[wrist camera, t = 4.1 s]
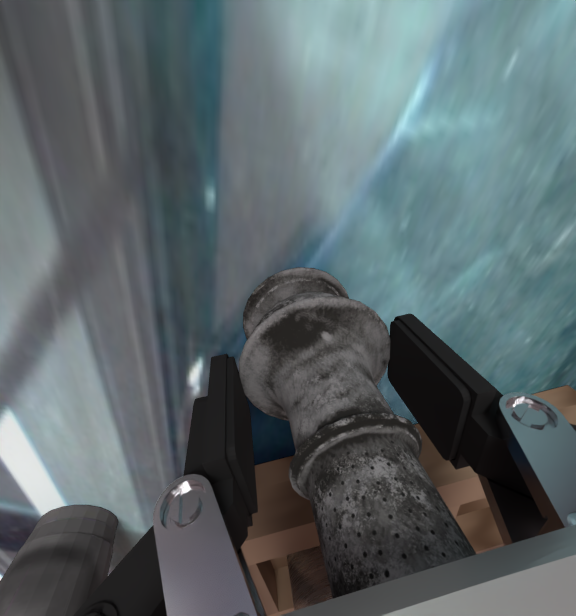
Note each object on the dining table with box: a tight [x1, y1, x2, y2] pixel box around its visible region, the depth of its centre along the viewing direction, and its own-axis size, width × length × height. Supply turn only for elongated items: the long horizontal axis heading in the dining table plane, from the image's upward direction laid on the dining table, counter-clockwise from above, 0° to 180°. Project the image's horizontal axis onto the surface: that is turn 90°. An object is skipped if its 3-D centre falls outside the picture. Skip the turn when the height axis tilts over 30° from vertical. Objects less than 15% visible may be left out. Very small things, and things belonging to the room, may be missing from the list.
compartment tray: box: [241, 385, 576, 616], centre depth 22 cm, size 26×15×4 cm, turn 98°
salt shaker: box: [239, 268, 476, 599], centre depth 9 cm, size 6×6×12 cm
